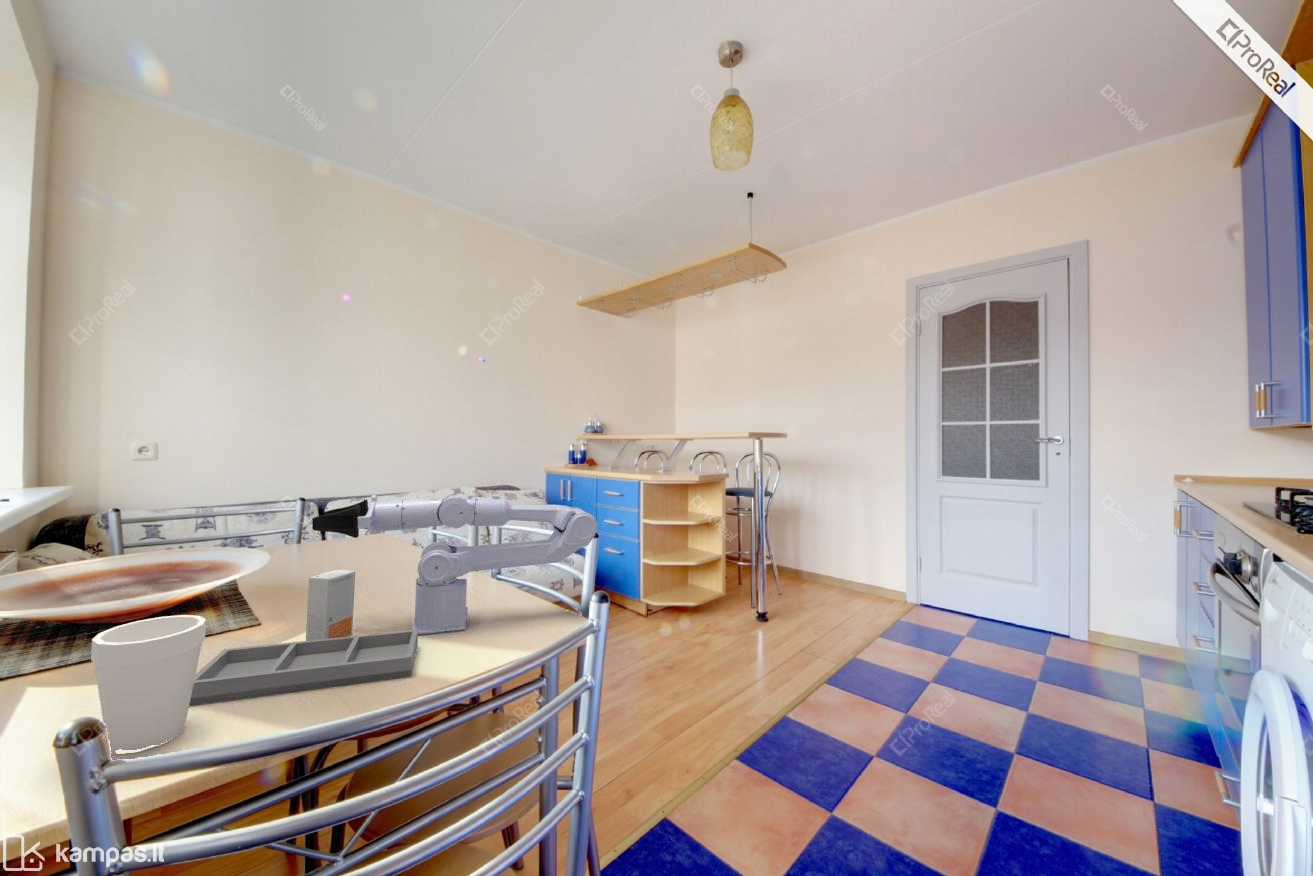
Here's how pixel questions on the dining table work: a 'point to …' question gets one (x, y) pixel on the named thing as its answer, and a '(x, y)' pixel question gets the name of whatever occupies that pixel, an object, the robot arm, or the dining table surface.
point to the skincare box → (330, 605)
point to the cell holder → (304, 666)
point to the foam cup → (147, 678)
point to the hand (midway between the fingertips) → (318, 520)
